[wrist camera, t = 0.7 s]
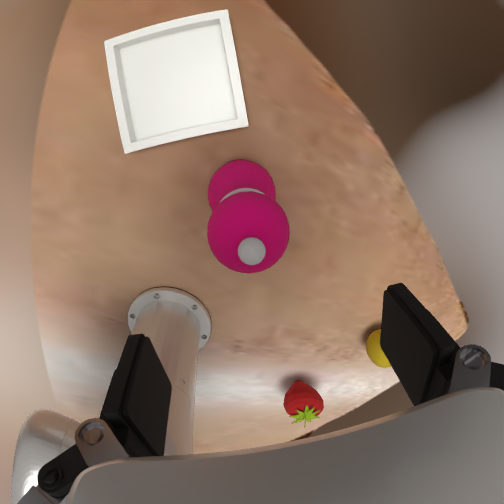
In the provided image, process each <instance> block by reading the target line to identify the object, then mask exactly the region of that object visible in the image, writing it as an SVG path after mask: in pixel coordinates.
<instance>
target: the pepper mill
mask: <svg viewBox="0 0 504 504" xmlns="http://www.w3.org/2000/svg"><path fill="white" fill-rule="evenodd" d="M275 195H276V193H275V186H274V183H273V180H272V178H271V176H270V175H269V173H268V172H267V171H266V170H265V169H264V168H263V167H261V166H260V165H258V164H256V163H254V162H251V161H247V160H234V161H231V162H229V163H227V164H225V165H224V166H222V167H221V168H220V169H219V170H218V171H217V172H216V173H215V174H214V175H213V177H212V179H211V181H210V184H209V189H208V199H209V204H210V207H211V209H212V211H213V212H212V215H211V217H210V219H209V223H208V234H207V236H208V242H209V245H210V248H211V250H212V252H213V254H214V256H215V257H216V258H217V259H218V261H219V262H221V263H222V264H223V265H224V266H226V267H227V268H229V269H231V270H234V271H237V272H242V273H256V272H260V271H263V270H265V269H268V268H270V267H271V266H273V265H274V264H275V263H276V262H277V261H278V260H279V259H280V258H281V256H282V255H283V253H284V251H285V250H286V248H287V244H288V241H289V224H288V220H287V217H286V215H285V212H284V211H283V209H282V208H281V207H280V206H279V204H278V203H277V202H276V201H275Z"/></svg>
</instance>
